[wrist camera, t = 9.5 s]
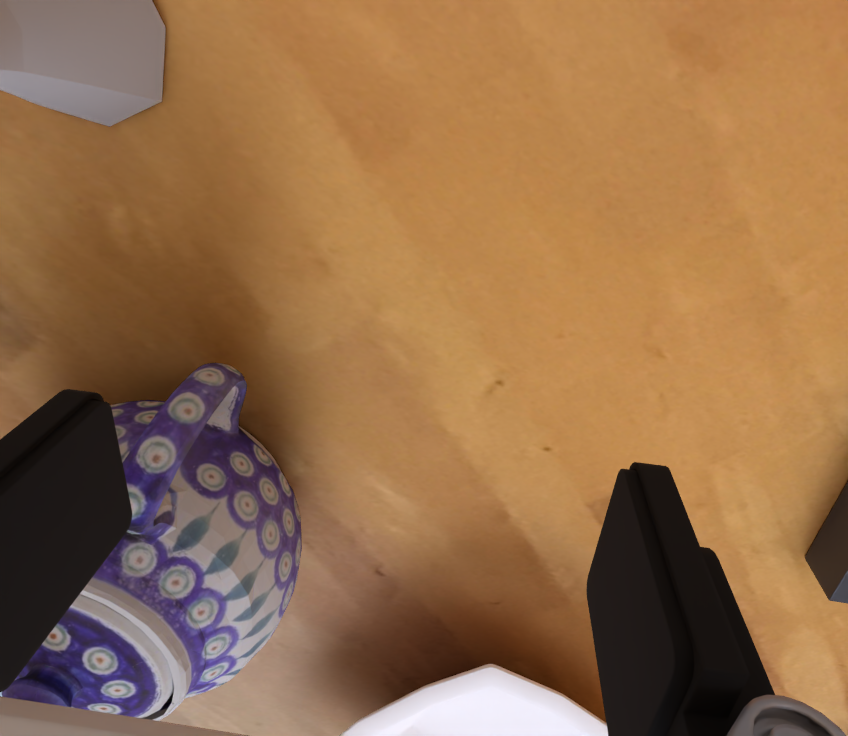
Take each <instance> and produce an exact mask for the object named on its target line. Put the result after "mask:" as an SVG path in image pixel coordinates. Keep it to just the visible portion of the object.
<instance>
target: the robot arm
mask: <svg viewBox="0 0 848 736" xmlns="http://www.w3.org/2000/svg"><path fill="white" fill-rule="evenodd" d="M131 520H132V508H131V503H130V498H129V493H128V488H127V483H126V478H125V473H124V468H123V463H122V458H121V453H120V448H119V443H118V438H117V433H116V428H115V423H114V418H113V413H112V409H111V406H110V404H109V403H107V402H104V400H103V398H102V396H101V395H100V394H98V393H94V392H87V391H79V390H71V389H66V390H63V391H61V392H59V393H58V394H57V395H55V396H54V397H53V398H52V399H50V400H49V401H48V402H47V403H45V404H44V405H43V406H42V407H40V408H39V409H38V410H37V411H36V412H34V413H33V414H32V415H31V416H29V417H28V418H27V419H26V420H24V421H23V422H22V423H21V424H19V425H18V426H17V427H16V428H14V429H13V430H12V431H11V432H9V433H8V434H7V435H6V436H4V437H3V438H2V439H1V440H0V692H2V691H4V690H6V689H7V688H8V687H9V686H10V685H11V684H12V683H13V682H14V680H15V679H16V678H17V676H18V675H19V674H20V672H21V671H22V670H23V668H24V667H25V666H26V664H27V663H28V662H29V660H30V659H31V658H32V656H33V655H34V654H35V653H36V651H37V650H38V649H39V647H40V646H41V645H42V643H43V642H44V641H45V639H46V638H47V637H48V635H49V634H50V633H51V631H52V630H53V629H54V627H55V626H56V625H57V623H58V622H59V621H60V619H61V618H62V617H63V615H64V614H65V613H66V612H67V610H68V609H69V608H70V606H71V605H72V604H73V602H74V601H75V600H76V598H77V597H78V596H79V594H80V593H81V592H82V590H83V589H84V588H85V586H86V585H87V584H88V582H89V581H90V580H91V578H92V577H93V576H94V575H95V573H96V572H97V571H98V569H99V568H100V567H101V565H102V564H103V563H104V561H105V560H106V559H107V557H108V556H109V555H110V553H111V552H112V551H113V549H114V548H115V547H116V545H117V544H118V543H119V541H120V540H121V539H122V538H123V536H124V535H125V534H126V532H127V531H128V529H129V527H130V524H131ZM587 600H588V607H589V613H590V619H591V626H592V632H593V639H594V645H595V652H596V658H597V665H598V671H599V678H600V684H601V691H602V697H603V704H604V710H605V717H606V723H607V729H608V736H846V735H845V734H844V732H843V731H842V730H841V729H840V728H839V727H838V726H837V725H836V724H834V723H833V722H832V721H831V720H829V719H828V718H827V717H826V716H825V715H823V714H822V713H821V712H819V711H817V710H815V709H814V708H812V707H810V706H808V705H806V704H805V703H803V702H800V701H797V700H794V699H791V698H788V697H785V696H778V695H775V694H774V691H773V689H772V686H771V684H770V682H769V679H768V677H767V674H766V672H765V670H764V667H763V665H762V662H761V660H760V658H759V655H758V653H757V650H756V648H755V646H754V643H753V641H752V638H751V636H750V634H749V631H748V629H747V626H746V624H745V622H744V619H743V617H742V615H741V612H740V610H739V607H738V605H737V603H736V600H735V598H734V595H733V593H732V591H731V588H730V586H729V583H728V581H727V579H726V576H725V574H724V571H723V569H722V567H721V564H720V562H719V560H718V558H717V556H716V554H715V553H714V552H713V551H712V550H711V549H710V548H704V547H700V546H699V543H698V541H697V538H696V536H695V533H694V530H693V528H692V525H691V523H690V520H689V518H688V515H687V513H686V510H685V507H684V505H683V502H682V500H681V497H680V495H679V492H678V490H677V487H676V485H675V482H674V479H673V477H672V474H671V472H670V470H669V468H668V467H666V466H660V465H653V464H645V463H637V462H634V463H632V465H631V466H630V469H629V470H627V469H621V470H620V471H619V473H618V476H617V479H616V483H615V486H614V489H613V493H612V496H611V500H610V503H609V506H608V510H607V513H606V517H605V520H604V523H603V527H602V530H601V534H600V537H599V541H598V544H597V547H596V551H595V554H594V558H593V561H592V564H591V568H590V571H589V575H588V580H587ZM0 736H248V735H242V734H236V733H230V732H223V731H217V730H211V729H205V728H198V727H192V726H186V725H180V724H173V723H167V722H161V721H155V720H148V719H142V718H136V717H130V716H123V715H117V714H111V713H104V712H98V711H91V710H85V709H78V708H72V707H65V706H59V705H52V704H46V703H40V702H33V701H27V700H20V699H14V698H7V697H1V696H0Z"/></svg>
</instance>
